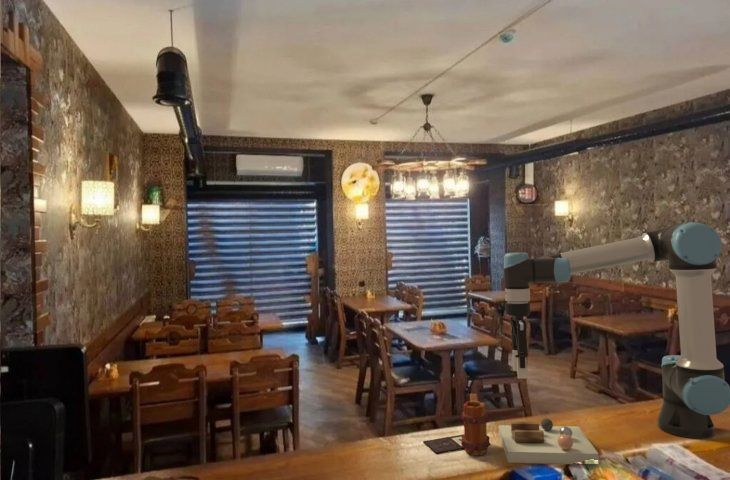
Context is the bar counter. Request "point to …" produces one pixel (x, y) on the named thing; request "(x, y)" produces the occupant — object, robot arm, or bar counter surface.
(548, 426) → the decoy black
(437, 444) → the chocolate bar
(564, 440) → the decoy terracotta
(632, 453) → the bar counter surface
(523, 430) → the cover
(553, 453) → the board
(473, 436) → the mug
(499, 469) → the bar counter surface
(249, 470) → the bar counter surface
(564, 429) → the ball
